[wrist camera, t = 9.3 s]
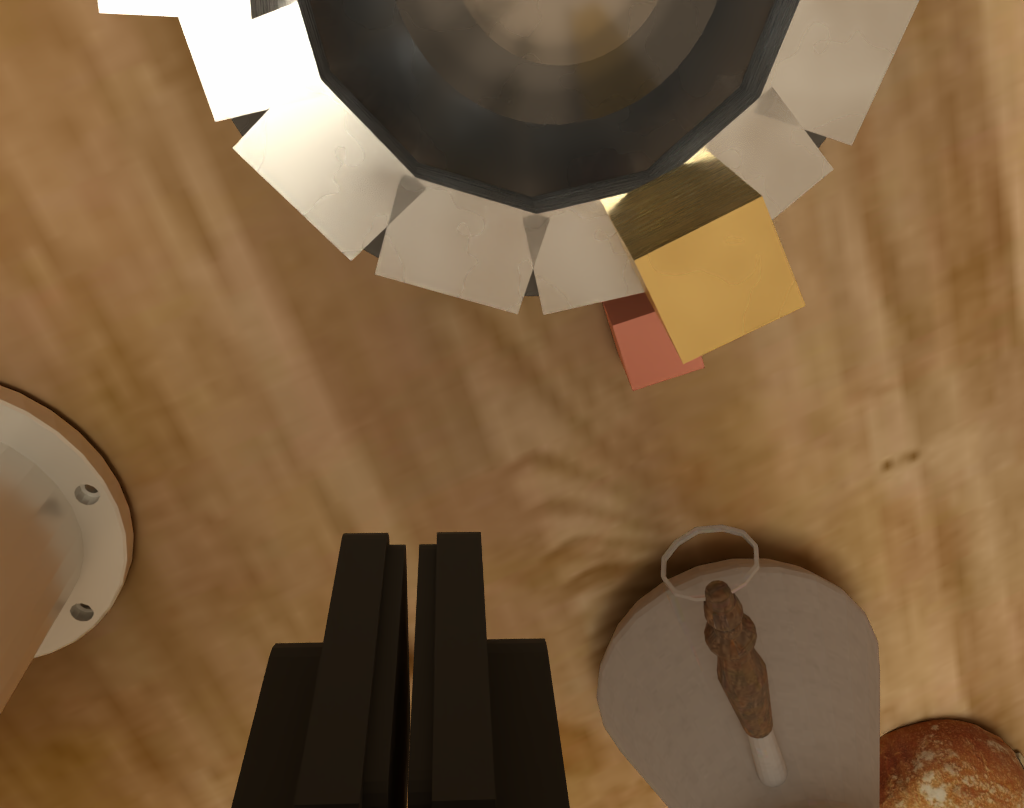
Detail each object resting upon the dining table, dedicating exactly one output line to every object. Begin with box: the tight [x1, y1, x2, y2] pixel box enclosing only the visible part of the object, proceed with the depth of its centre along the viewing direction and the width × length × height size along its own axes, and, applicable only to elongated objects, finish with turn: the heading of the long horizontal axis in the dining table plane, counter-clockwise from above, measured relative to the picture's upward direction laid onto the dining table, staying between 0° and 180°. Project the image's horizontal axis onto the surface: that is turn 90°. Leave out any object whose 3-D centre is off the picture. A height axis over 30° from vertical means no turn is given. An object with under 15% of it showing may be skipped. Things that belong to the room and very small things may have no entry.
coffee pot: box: [597, 525, 880, 808], centre depth 31 cm, size 21×12×15 cm, turn 20°
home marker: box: [602, 292, 705, 391], centre depth 32 cm, size 2×2×3 cm
